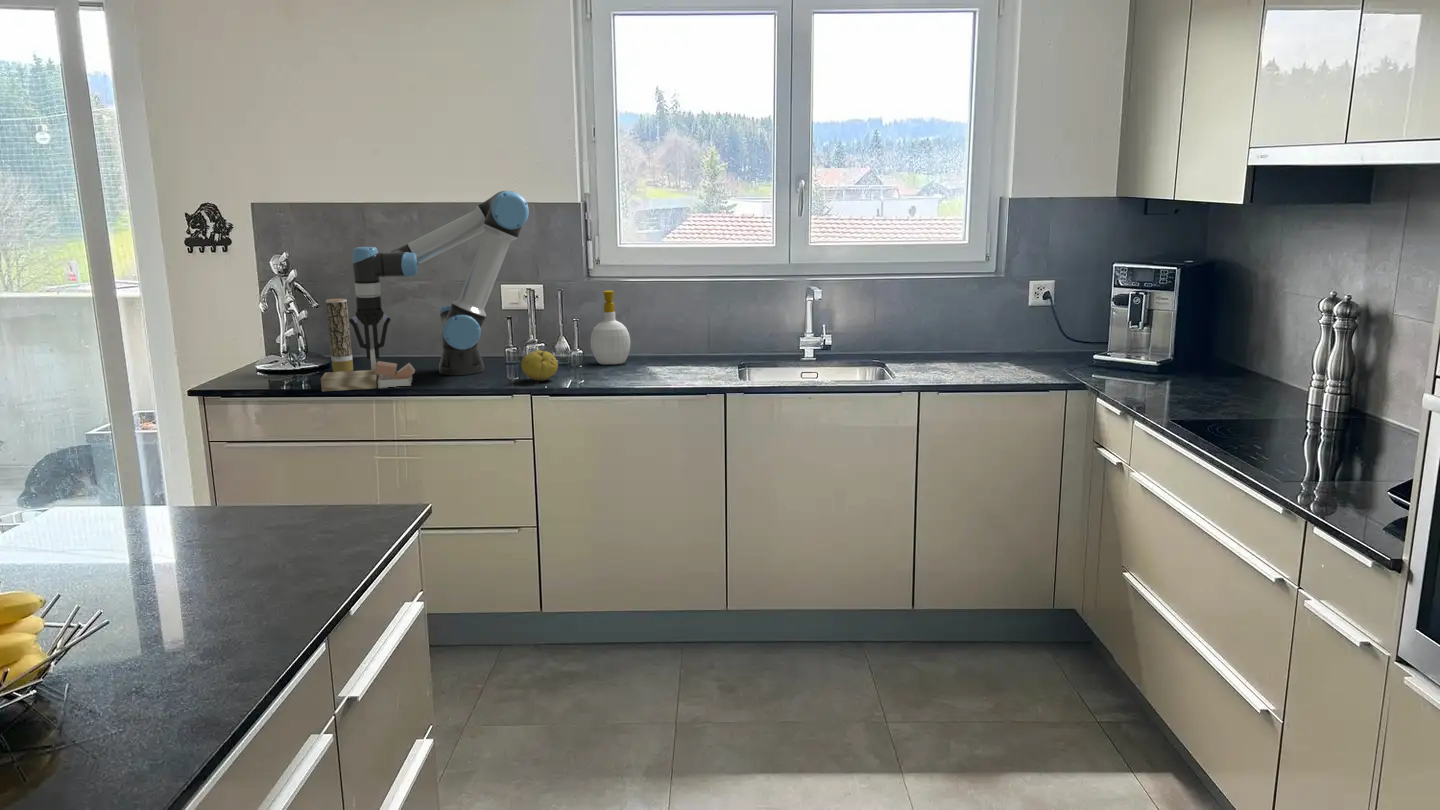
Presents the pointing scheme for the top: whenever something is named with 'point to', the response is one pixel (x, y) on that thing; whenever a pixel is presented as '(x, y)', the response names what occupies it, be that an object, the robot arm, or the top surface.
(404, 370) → the tile
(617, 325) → the soap bottle
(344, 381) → the board
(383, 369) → the tile
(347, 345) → the bark textured cylinder
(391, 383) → the tray
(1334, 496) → the top surface
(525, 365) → the fruit
